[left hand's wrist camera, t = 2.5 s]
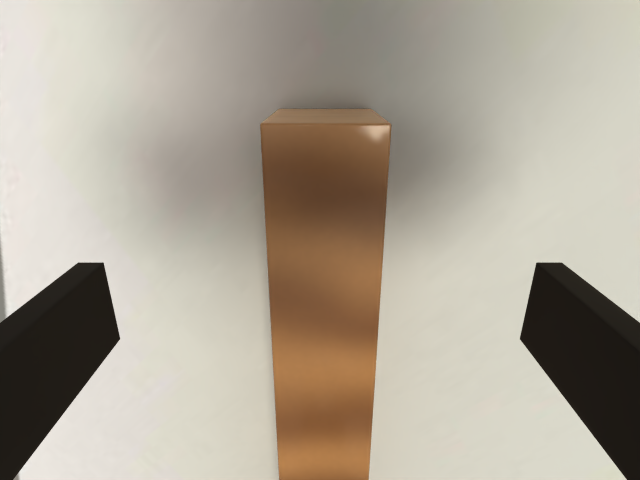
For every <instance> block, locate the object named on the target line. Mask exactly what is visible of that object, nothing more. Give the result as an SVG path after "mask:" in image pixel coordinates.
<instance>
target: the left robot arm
mask: <svg viewBox="0 0 640 480" xmlns="http://www.w3.org/2000/svg"><path fill="white" fill-rule="evenodd" d="M119 340H120V336H119V332H118V327H117V322H116V318H115V313H114V309H113V304H112V299H111V295H110V290H109V286H108V281H107V276H106V272H105V267H104V263H77V264H76V265H75V266H73V267H72V268H71V269H69V270H68V271H67V272H66V273H64V274H63V275H62V276H60V277H59V278H58V279H56V280H55V281H54V282H53V283H51V284H50V285H49V286H47V287H46V288H45V289H44V290H42V291H41V292H40V293H38V294H37V295H36V296H34V297H33V298H32V299H31V300H29V301H28V302H27V303H25V304H24V305H23V306H22V307H20V308H19V309H18V310H16V311H15V312H14V313H12V314H11V315H10V316H9V317H7V318H6V319H5V320H3V321H2V322H1V323H0V480H13V479H14V478H15V476H16V475H17V474H18V472H19V471H20V470H21V469H22V467H23V466H24V465H25V463H26V462H27V461H28V459H29V458H30V457H31V455H32V454H33V453H34V451H35V450H36V449H37V447H38V446H39V445H40V444H41V442H42V441H43V440H44V438H45V437H46V436H47V434H48V433H49V432H50V430H51V429H52V428H53V426H54V425H55V424H56V423H57V421H58V420H59V419H60V417H61V416H62V415H63V413H64V412H65V411H66V409H67V408H68V407H69V405H70V404H71V403H72V401H73V400H74V399H75V398H76V396H77V395H78V394H79V392H80V391H81V390H82V388H83V387H84V386H85V384H86V383H87V382H88V380H89V379H90V378H91V376H92V375H93V374H94V373H95V371H96V370H97V369H98V367H99V366H100V365H101V363H102V362H103V361H104V359H105V358H106V357H107V355H108V354H109V353H110V352H111V350H112V349H113V348H114V346H115V345H116V344H117V342H118V341H119ZM520 340H521V341H522V342H523V344H524V345H525V346H526V348H527V349H528V350H529V352H530V353H531V354H532V355H533V357H534V358H535V359H536V361H537V362H538V363H539V365H540V366H541V367H542V369H543V370H544V371H545V373H546V374H547V375H548V377H549V378H550V379H551V380H552V382H553V383H554V384H555V386H556V387H557V388H558V390H559V391H560V392H561V394H562V395H563V396H564V398H565V399H566V400H567V401H568V403H569V404H570V405H571V407H572V408H573V409H574V411H575V412H576V413H577V415H578V416H579V417H580V419H581V420H582V421H583V423H584V424H585V425H586V426H587V428H588V429H589V430H590V432H591V433H592V434H593V436H594V437H595V438H596V440H597V441H598V442H599V444H600V445H601V446H602V447H603V449H604V450H605V451H606V453H607V454H608V455H609V457H610V458H611V459H612V461H613V462H614V463H615V465H616V466H617V467H618V469H619V470H620V471H621V472H622V474H623V475H624V476H625V478H626V479H627V480H640V323H639V322H638V321H637V320H635V319H634V318H633V317H631V316H630V315H629V314H628V313H626V312H625V311H624V310H622V309H621V308H620V307H618V306H617V305H616V304H615V303H613V302H612V301H611V300H609V299H608V298H607V297H606V296H604V295H603V294H602V293H600V292H599V291H598V290H596V289H595V288H594V287H593V286H591V285H590V284H589V283H587V282H586V281H585V280H584V279H582V278H581V277H580V276H578V275H577V274H576V273H574V272H573V271H572V270H571V269H569V268H568V267H567V266H565V265H564V264H563V263H536V267H535V272H534V276H533V281H532V286H531V290H530V295H529V299H528V304H527V309H526V313H525V318H524V322H523V327H522V332H521V336H520Z"/></svg>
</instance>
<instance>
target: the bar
mask: <svg viewBox="0 0 640 480" xmlns="http://www.w3.org/2000/svg"><path fill="white" fill-rule="evenodd" d="M260 131H261V149H262V168H263V186H264V205H265V224H266V242H267V261H268V279H269V298H270V317H271V335H272V354H273V372H274V391H275V410H276V428H277V447H278V465H279V480H369V464H370V449H371V433H372V418H373V402H374V387H375V371H376V356H377V340H378V325H379V309H380V294H381V278H382V263H383V247H384V231H385V216H386V200H387V185H388V169H389V154H390V138H391V124H390V123H389V122H388V121H386V120H385V119H384V118H383V117H381V116H380V115H379V114H377V113H376V112H375V111H373V110H372V109H278V110H277V111H276V112H274V113H273V114H272V115H271V116H270V117H268V118H267V119H266V120H265V121H263V122H262V123H261V124H260Z"/></svg>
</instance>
